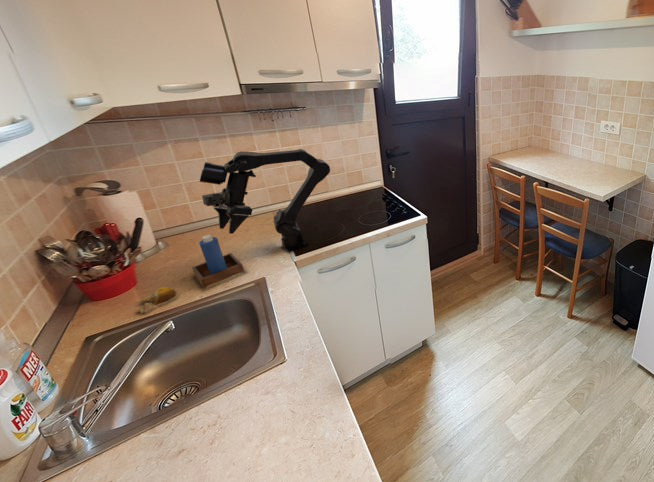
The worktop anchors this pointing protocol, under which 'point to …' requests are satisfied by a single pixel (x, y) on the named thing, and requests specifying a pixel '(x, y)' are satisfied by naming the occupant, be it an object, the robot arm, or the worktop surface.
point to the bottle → (212, 254)
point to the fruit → (159, 297)
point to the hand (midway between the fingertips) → (226, 231)
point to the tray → (208, 279)
